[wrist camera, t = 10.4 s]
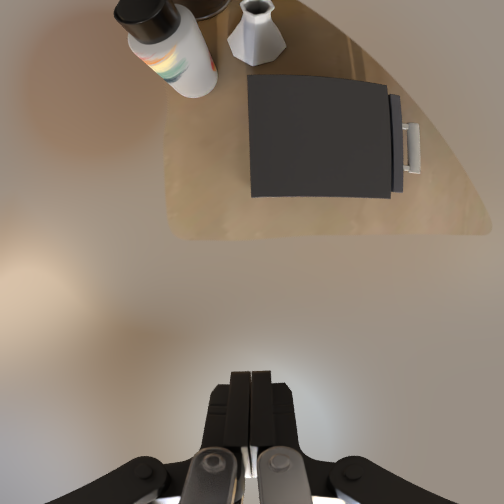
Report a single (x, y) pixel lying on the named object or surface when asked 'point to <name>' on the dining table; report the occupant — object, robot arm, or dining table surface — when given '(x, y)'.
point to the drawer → (397, 145)
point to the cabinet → (318, 137)
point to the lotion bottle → (169, 44)
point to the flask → (256, 34)
